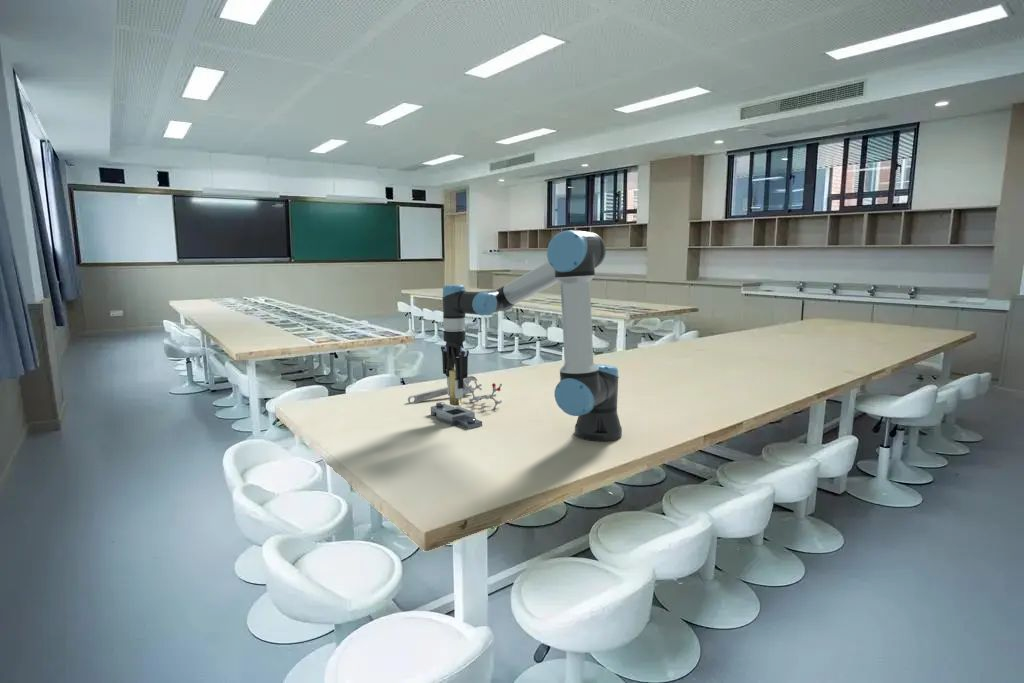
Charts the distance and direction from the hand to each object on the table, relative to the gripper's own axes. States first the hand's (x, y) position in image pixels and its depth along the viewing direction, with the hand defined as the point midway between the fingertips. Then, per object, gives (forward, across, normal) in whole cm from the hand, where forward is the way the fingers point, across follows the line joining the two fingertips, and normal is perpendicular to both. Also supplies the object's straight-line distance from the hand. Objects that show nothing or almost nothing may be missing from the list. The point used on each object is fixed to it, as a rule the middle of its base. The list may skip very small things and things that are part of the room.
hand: (455, 395), depth 193 cm
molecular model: (+9, +9, -19) cm, 23 cm away
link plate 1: (+9, +3, 0) cm, 9 cm away
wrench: (+9, +27, -13) cm, 32 cm away
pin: (+3, 0, 0) cm, 3 cm away
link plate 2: (+9, -3, 0) cm, 9 cm away
